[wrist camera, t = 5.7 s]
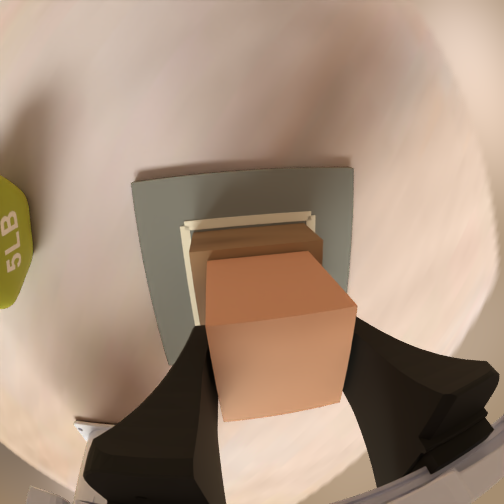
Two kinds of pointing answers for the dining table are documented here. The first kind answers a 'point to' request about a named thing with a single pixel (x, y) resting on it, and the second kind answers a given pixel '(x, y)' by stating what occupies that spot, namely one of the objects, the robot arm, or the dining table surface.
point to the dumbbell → (13, 241)
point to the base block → (246, 249)
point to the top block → (276, 334)
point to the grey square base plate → (232, 227)
